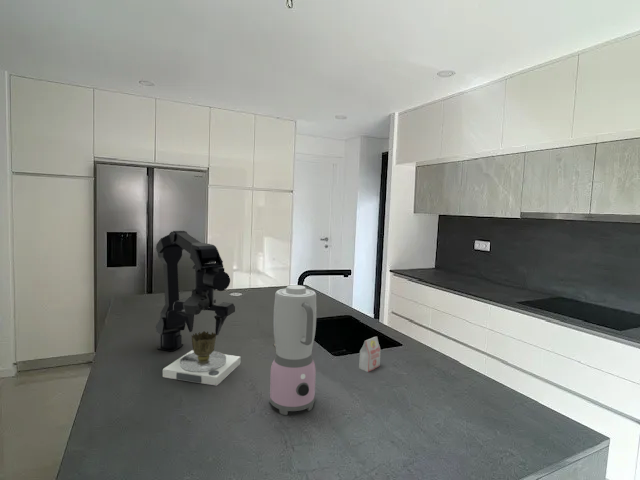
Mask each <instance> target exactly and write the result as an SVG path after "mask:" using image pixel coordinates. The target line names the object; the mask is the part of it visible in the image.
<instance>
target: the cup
mask: <svg viewBox="0 0 640 480" xmlns="http://www.w3.org/2000/svg"><path fill="white" fill-rule="evenodd" d="M216 337H217V335H216V333H215V332H211V333H209V331H205V330H204V331H202V332H200V331H198V334H197V332H196V333H195V332H194V333H193V334H192V335H191V343H192V350H193V351H194V353H195V354H196V355H197V356H198V357H197V358H198V360H200V361H206V360H208V359H209V357H210V356H209V355H210V354H211V353H212V352H213V351H215V350H214V349H215V344H216Z"/></svg>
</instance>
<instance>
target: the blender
mask: <svg viewBox="0 0 640 480" xmlns="http://www.w3.org/2000/svg"><path fill="white" fill-rule="evenodd" d="M317 309H318V308H317V293H316V292H315V290H313V289H309V288H307V287H306V286H304V285H299V284H298V285H297V284H294V285H287V286H286V287H285V288H281V289H278V290H276V292H275V294H274V304H273V324H272V325H273V338H274V344H275V346H274V347H275V356H274V359H273V360H272V363H271V366H270V378H269V379H270V380H269V381H270V382H269V384H270V385H269V388H270V389H269V403H270V405H271V406H273V407H274V408H276V409H278V410H279V414H281V415H284V416H288V414H289V412H297V411H298V412H299V411H304V410H306V411H308V412H310V411H312V409H313V407H314V404H315V403H314V402H315V401H316V400H315V399H316V395H315V393H316V392H315V391H316V364H315V360H314V359H313V356H312V355H313V354H312V353H313V351H312V350H313V347H314V342H315V336H316V330H317V329H316V328H317V311H318V310H317Z"/></svg>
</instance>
